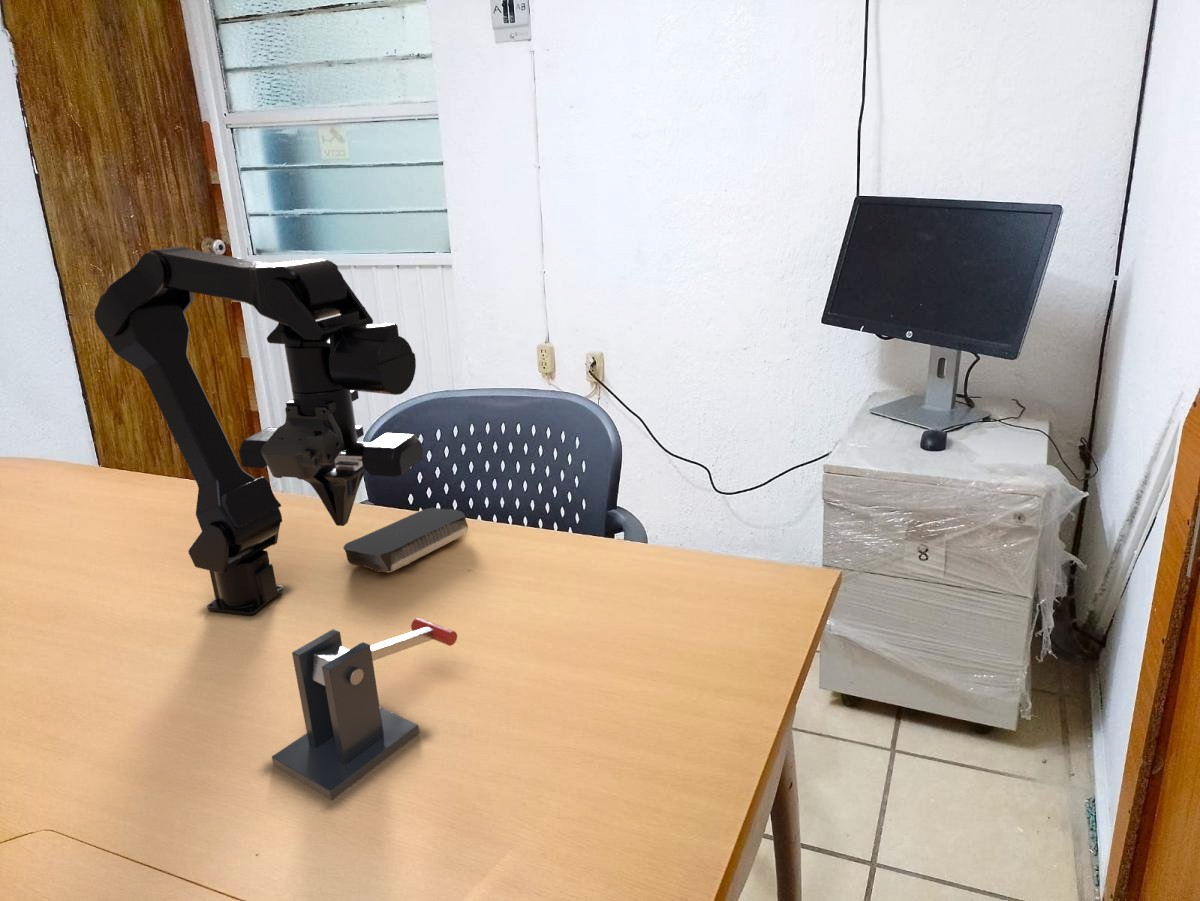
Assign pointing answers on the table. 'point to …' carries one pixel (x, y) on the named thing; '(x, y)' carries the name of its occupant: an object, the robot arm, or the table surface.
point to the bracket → (340, 720)
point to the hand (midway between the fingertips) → (342, 524)
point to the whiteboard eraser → (406, 539)
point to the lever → (389, 645)
